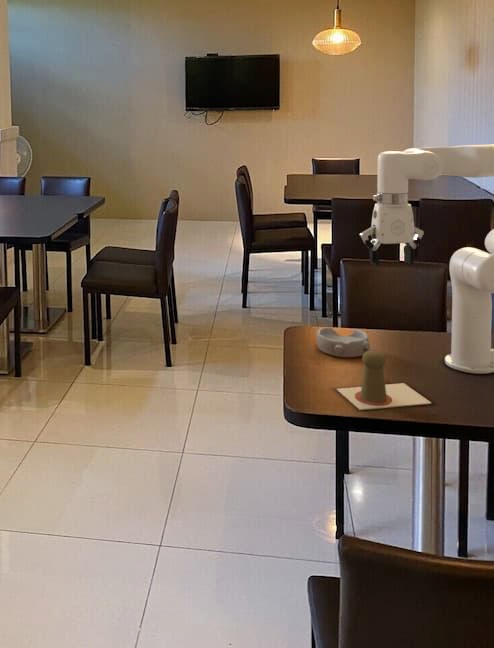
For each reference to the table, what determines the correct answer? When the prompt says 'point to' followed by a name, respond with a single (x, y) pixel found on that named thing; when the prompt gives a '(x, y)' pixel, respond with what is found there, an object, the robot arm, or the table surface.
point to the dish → (342, 343)
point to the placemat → (395, 397)
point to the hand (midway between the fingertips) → (391, 263)
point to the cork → (373, 377)
